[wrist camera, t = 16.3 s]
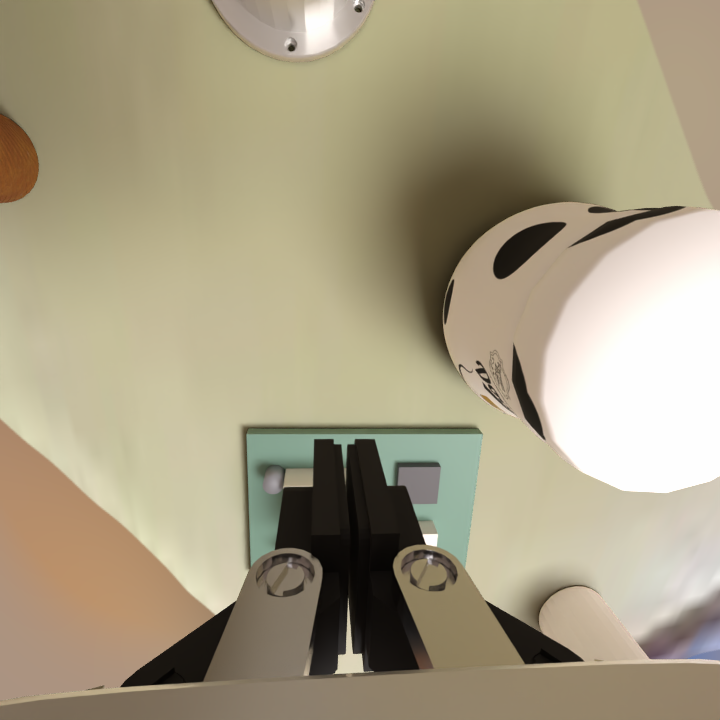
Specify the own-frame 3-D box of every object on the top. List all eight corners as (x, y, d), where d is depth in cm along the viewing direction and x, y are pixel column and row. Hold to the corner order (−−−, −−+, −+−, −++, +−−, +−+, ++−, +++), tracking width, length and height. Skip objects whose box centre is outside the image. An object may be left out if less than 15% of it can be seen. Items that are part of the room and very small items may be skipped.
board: (248, 428, 40) (240, 450, 36) (478, 428, 42) (495, 449, 38) (253, 570, 45) (246, 604, 41) (460, 564, 47) (474, 595, 43)
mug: (526, 606, 49) (579, 702, 39) (588, 573, 49) (658, 661, 39) (566, 671, 53) (624, 774, 43) (624, 641, 52) (697, 738, 42)
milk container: (438, 408, 41) (523, 533, 24) (425, 219, 36) (520, 206, 19) (612, 383, 42) (814, 486, 25) (622, 194, 37) (884, 161, 20)
